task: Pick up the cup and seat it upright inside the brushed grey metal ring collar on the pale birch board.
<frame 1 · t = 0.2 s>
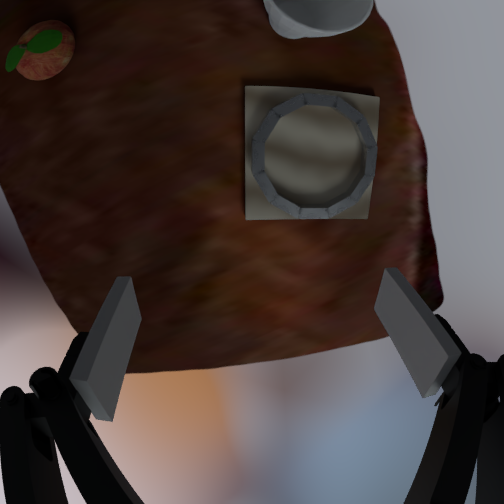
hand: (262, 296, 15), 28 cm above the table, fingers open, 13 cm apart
fruit: (61, 52, 28), on the table
cup: (291, 19, 30), on the table
board: (312, 154, 39), on the table
ring collar: (314, 155, 38), resting on board
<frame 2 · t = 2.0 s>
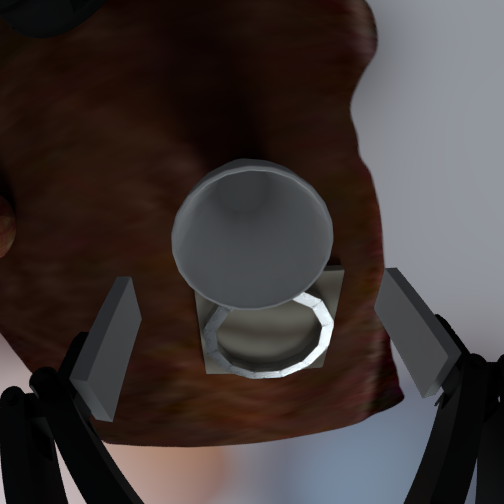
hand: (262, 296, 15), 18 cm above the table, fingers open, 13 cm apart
fruit: (6, 213, 30), on the table
cup: (243, 185, 31), on the table
board: (267, 324, 40), on the table
ring collar: (268, 330, 39), resting on board
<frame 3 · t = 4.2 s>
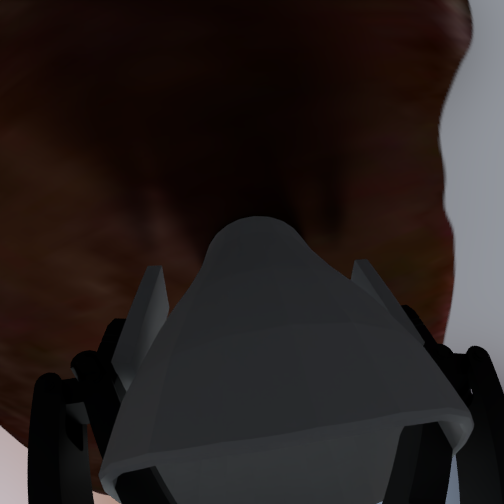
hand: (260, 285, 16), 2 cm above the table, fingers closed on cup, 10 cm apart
cup: (256, 261, 18), on the table, touching gripper
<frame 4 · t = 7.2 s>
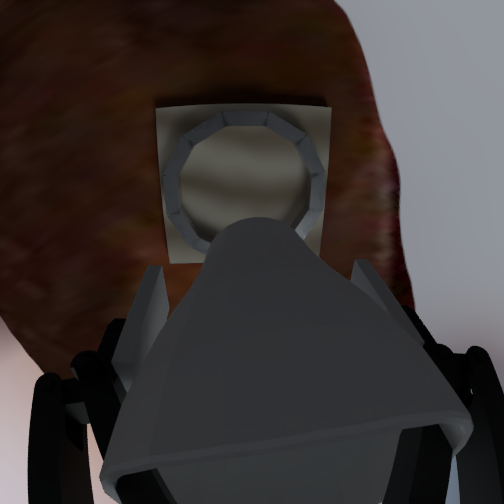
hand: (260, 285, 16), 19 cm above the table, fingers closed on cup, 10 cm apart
cup: (256, 262, 18), point 17 cm above the table, touching gripper
board: (244, 184, 33), on the table
ring collar: (244, 187, 32), resting on board
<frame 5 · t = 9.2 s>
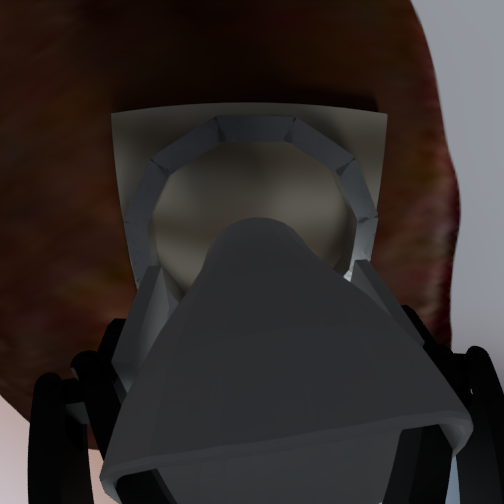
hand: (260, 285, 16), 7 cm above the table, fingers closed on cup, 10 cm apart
cup: (256, 262, 18), point 5 cm above the table, touching gripper
board: (251, 229, 22), on the table
ring collar: (252, 236, 21), resting on board
when the fingers open (5 cm above the table, at t = 10.6 s): cup drops 2 cm, resting on board.
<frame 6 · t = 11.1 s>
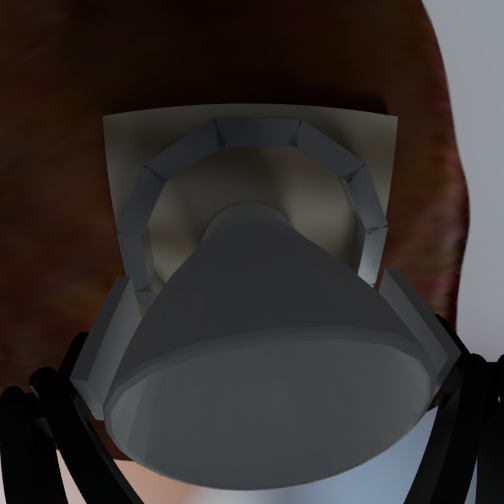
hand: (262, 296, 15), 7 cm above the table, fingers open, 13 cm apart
cup: (249, 244, 20), point 1 cm above the table, touching board
board: (252, 238, 21), on the table
ring collar: (254, 247, 20), resting on board
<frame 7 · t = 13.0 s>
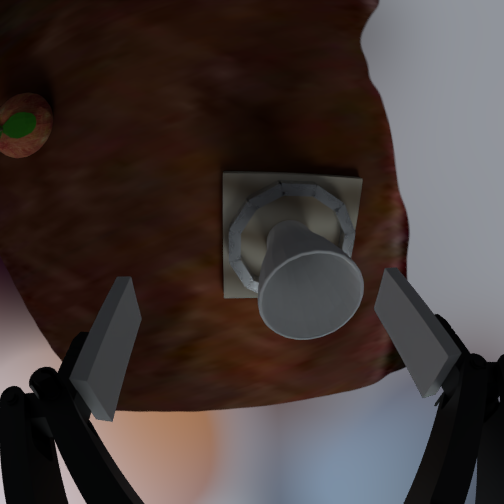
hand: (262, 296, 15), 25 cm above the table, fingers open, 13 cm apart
fruit: (41, 121, 31), on the table
cup: (288, 240, 40), point 1 cm above the table, touching board
board: (289, 237, 41), on the table
ring collar: (291, 241, 40), resting on board
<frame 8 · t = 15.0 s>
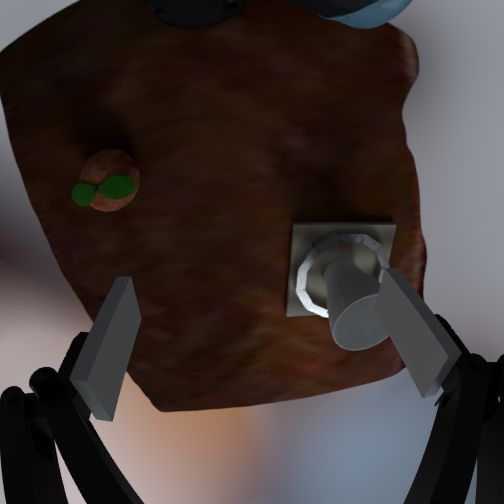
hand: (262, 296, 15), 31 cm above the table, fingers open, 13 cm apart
fruit: (121, 172, 41), on the table
cup: (339, 272, 51), point 1 cm above the table, touching board
board: (339, 269, 52), on the table
ring collar: (341, 273, 50), resting on board
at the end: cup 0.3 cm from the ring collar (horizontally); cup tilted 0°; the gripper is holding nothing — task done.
